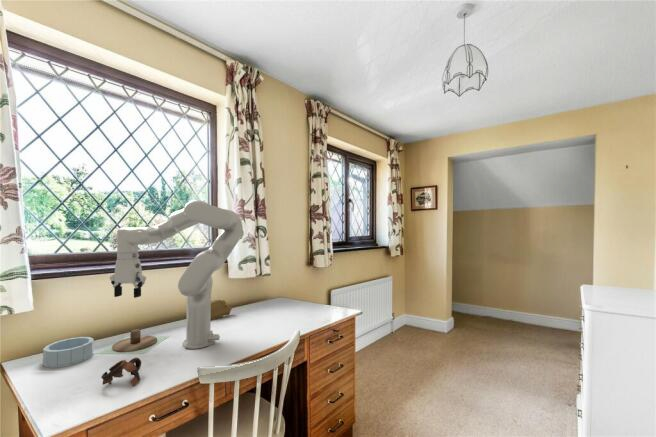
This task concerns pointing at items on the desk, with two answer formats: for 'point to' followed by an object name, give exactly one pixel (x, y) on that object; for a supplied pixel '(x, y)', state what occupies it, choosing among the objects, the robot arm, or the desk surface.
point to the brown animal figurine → (118, 368)
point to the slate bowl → (68, 352)
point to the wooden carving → (219, 309)
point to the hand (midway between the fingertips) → (127, 296)
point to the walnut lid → (134, 342)
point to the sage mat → (142, 351)
